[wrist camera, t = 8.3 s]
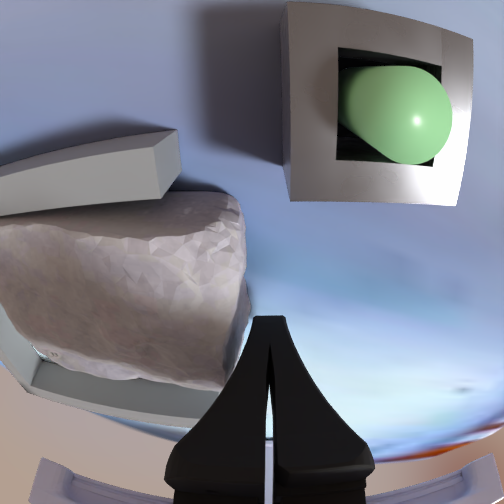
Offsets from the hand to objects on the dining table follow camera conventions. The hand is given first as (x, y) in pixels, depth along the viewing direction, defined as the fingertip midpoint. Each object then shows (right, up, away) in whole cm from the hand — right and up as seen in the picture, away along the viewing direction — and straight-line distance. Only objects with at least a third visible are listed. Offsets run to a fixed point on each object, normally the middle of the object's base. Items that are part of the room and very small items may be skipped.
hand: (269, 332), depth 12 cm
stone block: (-7, +2, +1) cm, 7 cm away
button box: (+3, +8, -4) cm, 10 cm away
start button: (+3, +8, -4) cm, 10 cm away
